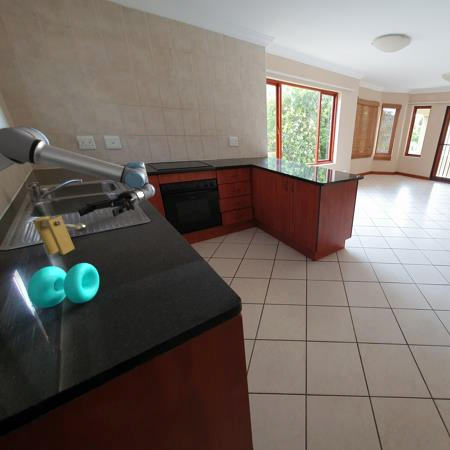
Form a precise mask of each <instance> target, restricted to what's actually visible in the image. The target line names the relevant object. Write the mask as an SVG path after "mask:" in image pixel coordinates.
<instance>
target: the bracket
mask: <svg viewBox="0 0 450 450" xmlns="http://www.w3.org/2000/svg"><path fill="white" fill-rule="evenodd" d="M42 219H49V220H46V223H47V225H48V227H44V226H41V224H42ZM32 222H33V225H34V227H35V229H36V232H37V233H38V236H39V237H40V239H41V241H42V244H43V246H44V248H45V250H46V252H47V254H48V255H49V256H52V255H54V254H56V253H58V252H59V254H60V255H61V256H64V255H66V254H67V253H70V252H71V251H73V250H75V245H74V243H73V241H72V239H71V236H70V234H69V231H68V229H67V227H66V226H65V224H66V223H65V222H64V219H63V217H62V215H55V216H54V217H50V215H43V216H41V217H38V218H36V219H33V220H32Z"/></svg>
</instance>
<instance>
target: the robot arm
mask: <svg viewBox="0 0 450 450" xmlns="http://www.w3.org/2000/svg"><path fill="white" fill-rule="evenodd" d="M26 163H28V164H33V165H41V164H45V165H48V166H53V167H56V168H60V169H64V170H68V171H72V172H76V173H80V174H84V175H88V176H92V177H95V178H99V179H104V180H107V181H111V182H116V183H120V184H124V185H127V186H128V187H129V188H130V189H128V190H124V191H122V192H120V193H119V194H118V195H117V197H114V198H111V197H109V198H105V199H102V200H97V201H93V202H90V203H86V204H85V206H84V207H81V208H79V209H77V213H78V214H79V217H84V216H86V215H88V214H90V213H94V212H95V210H101V209H106V208H113V209H112V210H111V213H112V215H113V217H118V216H119V215H121V214H124V213H126V212H128V211H129V212H130V210H131V211H135V210H136V209H137V206H138V205H140V203H142V202H145V201H147V200H149V199H151V198H152V197H153V196H154V195H155V194H156V189H155V187H154V186H153V184H151V183H150V182H149V178H148V174H147V169H146V166H145V163H144V162H143V161H129V162H127V163H126V166H124V165H121V164H116V163H113V162H109V161H105V160H103V159H99V158H95V157H92V156H89V155H85V154H81V153H78V152H74V151H70V150H67V149H64V148H60V147H57V146H54V145H51V144H50V141H49V139H48V138H47V137H46V135H45V134H44V133H42V131H39V130H38V129H35V128H33V127H29V126H13V127H10V126H9V127H1V128H0V172H2V171H4V170H6V169H8V168H9V167H11V166H13V165H24V164H26Z"/></svg>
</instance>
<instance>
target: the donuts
mask: <svg viewBox="0 0 450 450" xmlns="http://www.w3.org/2000/svg"><path fill="white" fill-rule="evenodd" d="M65 271H66V270H64V269H62V268H61V267H58V266H54V265H53V266H52V265H51V266H50V265H49V266H45V267H42V268H40V269H38V270H37V271H36V272H35V273H34V274H33V275H32V276H31V278H30V279H29V282H28V285H27V294H28V295H27V296H28V298H29V300H30V302H31V303H32V304H33V305H34V306H36V307H38V308H43V309H48V308H52V307H55V306H57V305H58V304H60V303H61V302H63V301H64V299H65V298H66V299H68V300H69V301H71V302H72V303H75V304H84V303H88V302H89V301H91V300H92V299H93V298H94V297H95V296H96V294H97V293H98V290H99V288H100V287H99V286H100V275H99V272H98V270H97V269H96V267H95V266H94V265H92V264H90V263H87V262H81V263H77V264H75V265H73V266H72V267H71V268H70V269H68V271H67V272H65Z"/></svg>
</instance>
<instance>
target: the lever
mask: <svg viewBox="0 0 450 450" xmlns="http://www.w3.org/2000/svg"><path fill="white" fill-rule="evenodd" d="M46 220H49V219H42V224H41V226H44V227H48V225H47V223H46ZM64 224H65V226H66V228H70V229H73V230H74V231H75V232H77V233H83V232H85V231H86V229H87V225H86V224H85V223H83V222H78V223H74V224H70V223H64Z"/></svg>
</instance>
